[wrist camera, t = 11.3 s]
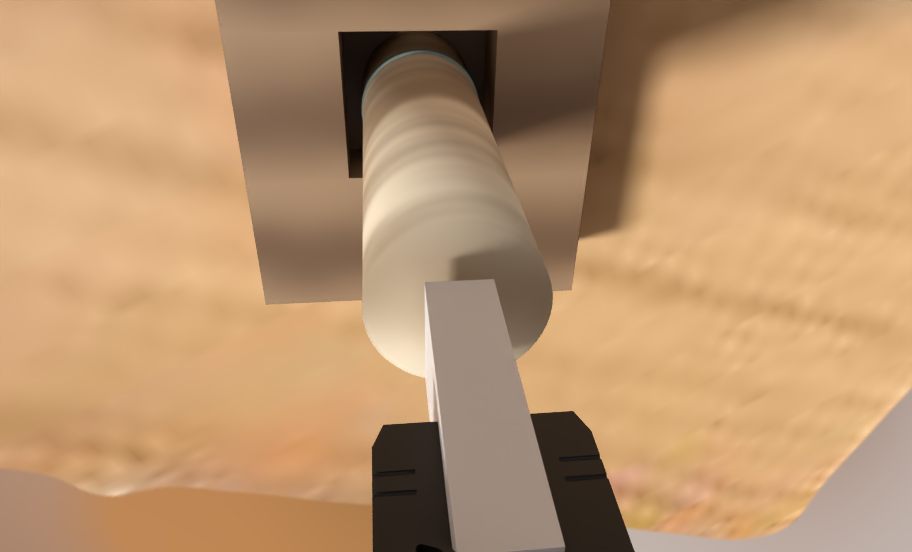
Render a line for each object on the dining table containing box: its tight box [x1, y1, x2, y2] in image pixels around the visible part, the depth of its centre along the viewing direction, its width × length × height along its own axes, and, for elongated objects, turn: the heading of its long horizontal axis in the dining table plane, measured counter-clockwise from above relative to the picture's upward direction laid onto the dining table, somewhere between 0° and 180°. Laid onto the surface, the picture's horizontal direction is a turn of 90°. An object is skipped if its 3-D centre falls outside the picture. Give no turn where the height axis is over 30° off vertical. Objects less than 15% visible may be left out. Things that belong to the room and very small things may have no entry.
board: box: [215, 0, 611, 305], centre depth 29 cm, size 18×14×4 cm
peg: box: [362, 31, 553, 378], centre depth 23 cm, size 4×4×16 cm
